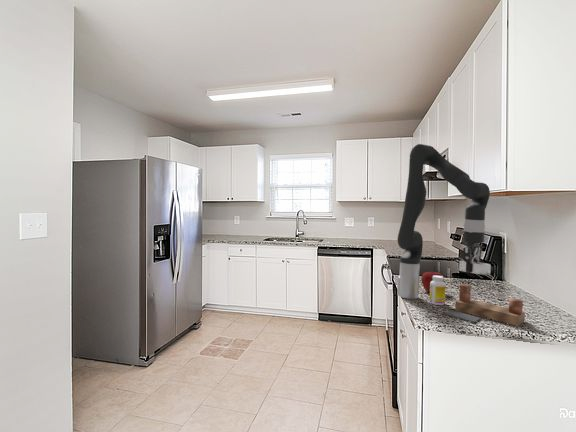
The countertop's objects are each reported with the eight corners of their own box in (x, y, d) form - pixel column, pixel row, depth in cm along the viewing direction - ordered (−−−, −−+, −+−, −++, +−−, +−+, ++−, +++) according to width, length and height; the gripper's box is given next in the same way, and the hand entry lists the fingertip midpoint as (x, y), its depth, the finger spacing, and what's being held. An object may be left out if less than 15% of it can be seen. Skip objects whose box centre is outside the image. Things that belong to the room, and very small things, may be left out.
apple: (439, 290, 172) (439, 269, 172) (446, 295, 162) (447, 273, 161) (418, 289, 173) (418, 268, 173) (424, 294, 163) (425, 272, 162)
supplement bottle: (448, 304, 147) (449, 277, 147) (439, 306, 144) (440, 278, 143) (435, 300, 153) (436, 274, 152) (426, 302, 150) (427, 275, 149)
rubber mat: (443, 314, 133) (443, 313, 133) (450, 311, 138) (450, 309, 137) (474, 323, 124) (474, 321, 124) (481, 319, 128) (481, 317, 128)
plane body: (455, 310, 139) (456, 285, 139) (463, 306, 145) (464, 282, 144) (517, 326, 121) (519, 298, 120) (525, 321, 127) (526, 294, 126)
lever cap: (459, 270, 132) (459, 261, 132) (464, 269, 136) (464, 259, 136) (487, 275, 124) (488, 265, 124) (492, 273, 128) (492, 264, 128)
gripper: (470, 229, 138) (468, 267, 139) (457, 230, 128) (454, 271, 129) (490, 230, 132) (488, 270, 133) (477, 232, 123) (474, 275, 124)
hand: (471, 271), depth 131 cm, fingers closed on lever cap, 5 cm apart
